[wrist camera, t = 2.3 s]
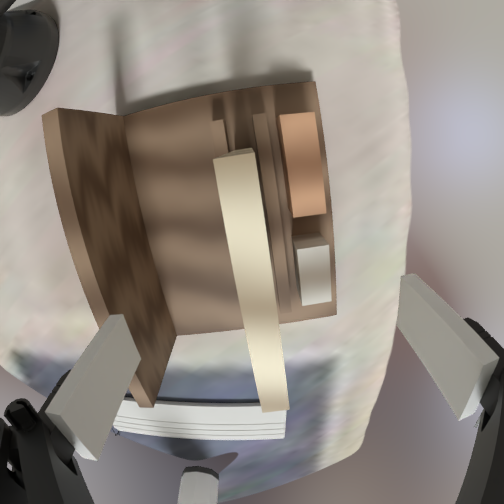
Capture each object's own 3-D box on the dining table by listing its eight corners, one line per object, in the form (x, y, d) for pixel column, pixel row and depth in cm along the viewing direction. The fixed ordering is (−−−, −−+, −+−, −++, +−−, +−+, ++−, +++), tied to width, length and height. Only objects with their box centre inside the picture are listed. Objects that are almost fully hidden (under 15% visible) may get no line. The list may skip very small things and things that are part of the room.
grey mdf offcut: (291, 236, 31) (297, 249, 27) (319, 232, 31) (328, 244, 27) (296, 287, 33) (302, 305, 29) (323, 283, 33) (331, 301, 29)
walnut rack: (116, 120, 28) (41, 115, 15) (312, 84, 27) (355, 46, 14) (168, 329, 37) (139, 407, 24) (333, 308, 36) (367, 384, 23)
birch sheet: (234, 150, 28) (213, 159, 11) (251, 147, 28) (254, 152, 11) (256, 281, 33) (262, 412, 16) (270, 279, 33) (289, 409, 16)
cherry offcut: (275, 119, 27) (279, 115, 23) (305, 115, 27) (314, 111, 23) (287, 208, 30) (293, 217, 26) (316, 204, 30) (326, 213, 26)
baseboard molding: (283, 438, 46) (285, 397, 42) (284, 450, 44) (287, 411, 40) (121, 430, 47) (100, 390, 42) (117, 441, 44) (94, 401, 40)
